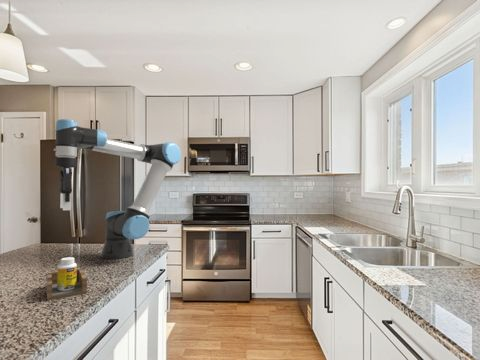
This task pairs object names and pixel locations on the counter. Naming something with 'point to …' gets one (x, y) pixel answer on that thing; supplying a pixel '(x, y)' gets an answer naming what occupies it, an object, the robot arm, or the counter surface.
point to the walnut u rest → (79, 289)
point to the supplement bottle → (66, 274)
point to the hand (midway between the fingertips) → (65, 209)
